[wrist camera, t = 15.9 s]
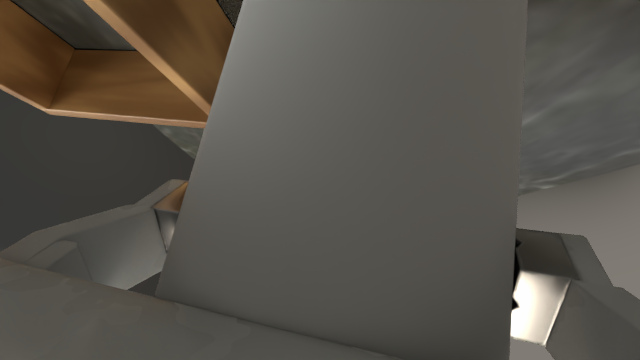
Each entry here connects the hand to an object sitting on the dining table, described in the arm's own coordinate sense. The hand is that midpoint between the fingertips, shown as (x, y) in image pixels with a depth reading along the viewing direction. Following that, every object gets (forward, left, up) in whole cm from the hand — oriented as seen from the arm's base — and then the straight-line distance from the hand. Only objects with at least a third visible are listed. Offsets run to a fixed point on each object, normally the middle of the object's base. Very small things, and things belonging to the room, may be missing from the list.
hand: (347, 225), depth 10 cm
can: (0, +1, -7) cm, 7 cm away
